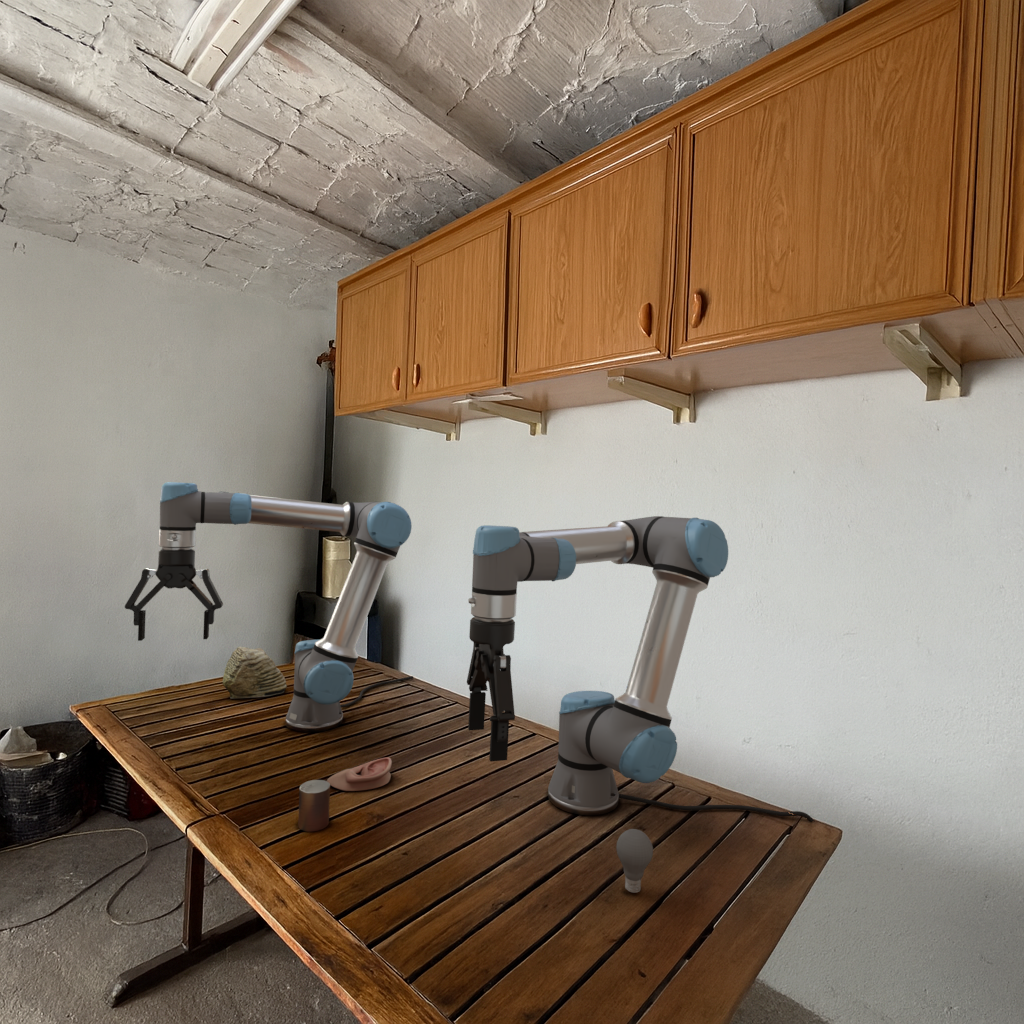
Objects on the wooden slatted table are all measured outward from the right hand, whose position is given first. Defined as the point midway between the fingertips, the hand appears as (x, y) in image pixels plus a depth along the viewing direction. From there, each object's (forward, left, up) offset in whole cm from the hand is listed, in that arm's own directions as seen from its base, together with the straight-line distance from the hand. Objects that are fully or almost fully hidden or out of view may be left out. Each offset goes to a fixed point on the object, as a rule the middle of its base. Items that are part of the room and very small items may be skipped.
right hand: (486, 744), depth 106 cm
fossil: (+48, -109, -23) cm, 121 cm away
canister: (+28, -24, -23) cm, 44 cm away
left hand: (+61, -61, +5) cm, 86 cm away
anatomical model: (+18, -42, -23) cm, 51 cm away
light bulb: (-24, +8, -23) cm, 34 cm away
